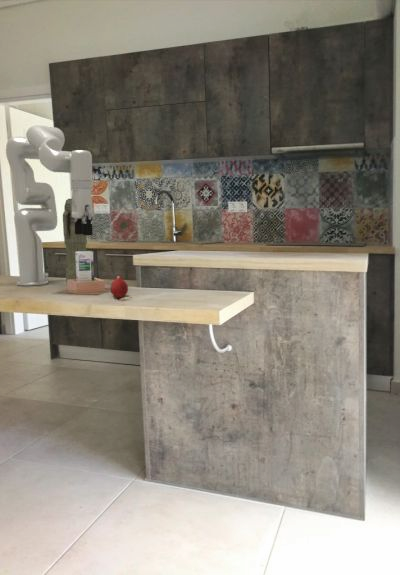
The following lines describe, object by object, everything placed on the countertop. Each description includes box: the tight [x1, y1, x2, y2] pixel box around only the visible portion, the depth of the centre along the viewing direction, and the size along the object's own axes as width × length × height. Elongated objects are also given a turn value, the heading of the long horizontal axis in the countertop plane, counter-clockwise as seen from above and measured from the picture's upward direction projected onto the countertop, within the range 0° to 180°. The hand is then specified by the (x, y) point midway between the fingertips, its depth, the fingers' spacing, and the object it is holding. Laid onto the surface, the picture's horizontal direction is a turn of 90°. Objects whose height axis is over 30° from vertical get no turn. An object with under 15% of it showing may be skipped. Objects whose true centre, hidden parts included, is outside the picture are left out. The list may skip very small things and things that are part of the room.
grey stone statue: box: [62, 198, 88, 283], centre depth 212 cm, size 9×12×35 cm
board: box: [51, 287, 111, 296], centre depth 194 cm, size 18×18×1 cm
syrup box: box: [75, 250, 95, 282], centre depth 193 cm, size 6×6×14 cm
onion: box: [110, 275, 129, 301], centre depth 181 cm, size 6×6×8 cm
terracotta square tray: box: [66, 277, 106, 294], centre depth 194 cm, size 11×11×4 cm
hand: (83, 234), depth 192 cm, fingers open, 9 cm apart
